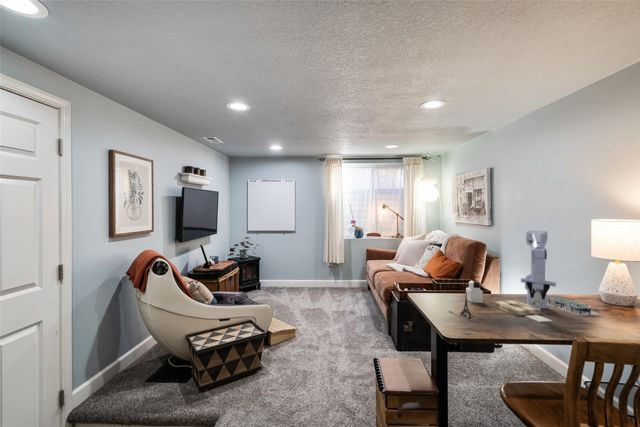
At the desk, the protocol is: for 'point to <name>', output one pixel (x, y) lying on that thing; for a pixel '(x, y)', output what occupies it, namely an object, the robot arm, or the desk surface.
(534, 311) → the bore block
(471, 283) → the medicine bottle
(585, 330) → the desk surface
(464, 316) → the eiffel tower figurine
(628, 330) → the desk surface
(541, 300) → the end cover
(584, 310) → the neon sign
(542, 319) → the mat
